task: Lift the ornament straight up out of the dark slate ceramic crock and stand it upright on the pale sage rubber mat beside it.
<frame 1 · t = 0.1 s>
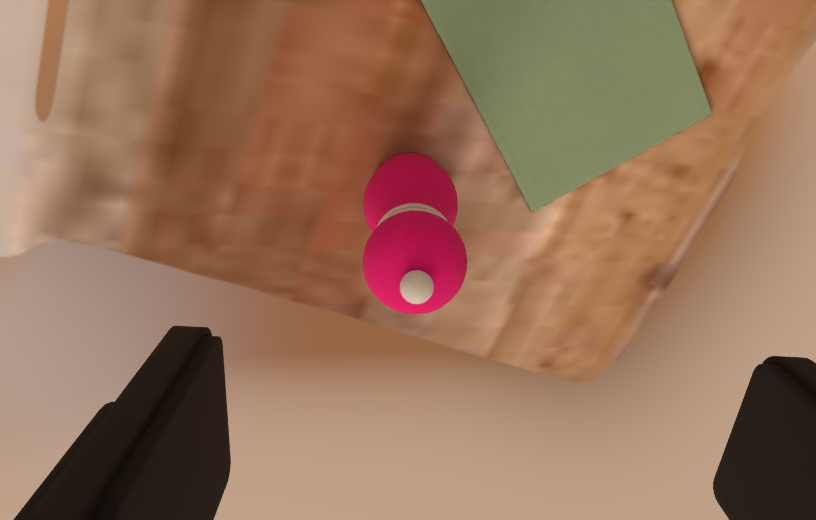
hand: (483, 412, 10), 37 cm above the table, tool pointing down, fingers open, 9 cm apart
mat: (568, 53, 43), on the table
pepper mill: (409, 188, 47), on the table
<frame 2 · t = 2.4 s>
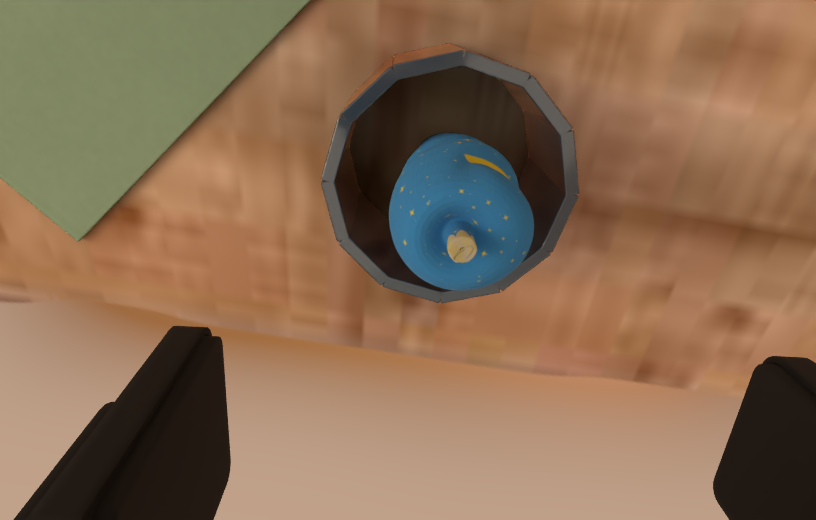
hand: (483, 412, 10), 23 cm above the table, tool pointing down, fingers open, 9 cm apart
mat: (66, 1, 27), on the table
crock: (439, 151, 31), on the table
ornament: (439, 150, 31), resting in crock
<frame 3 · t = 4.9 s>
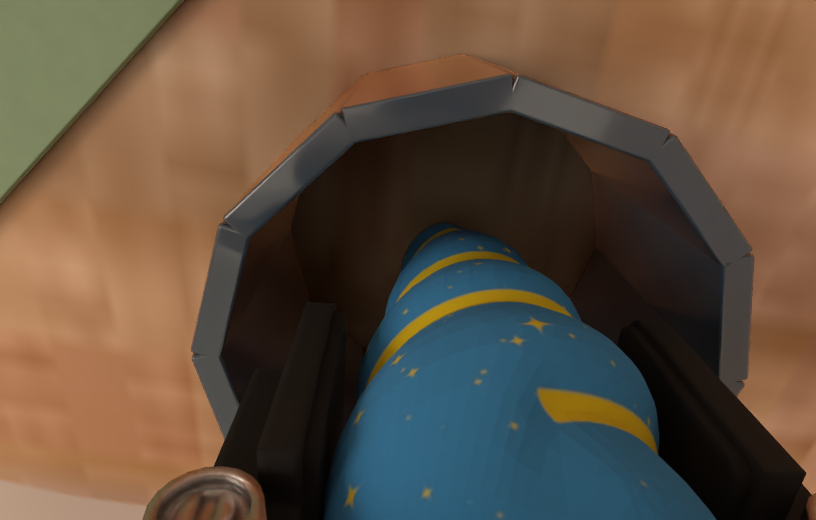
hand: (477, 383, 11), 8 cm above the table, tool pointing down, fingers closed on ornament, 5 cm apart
crock: (444, 237, 18), on the table
ornament: (443, 235, 18), resting in crock, touching gripper
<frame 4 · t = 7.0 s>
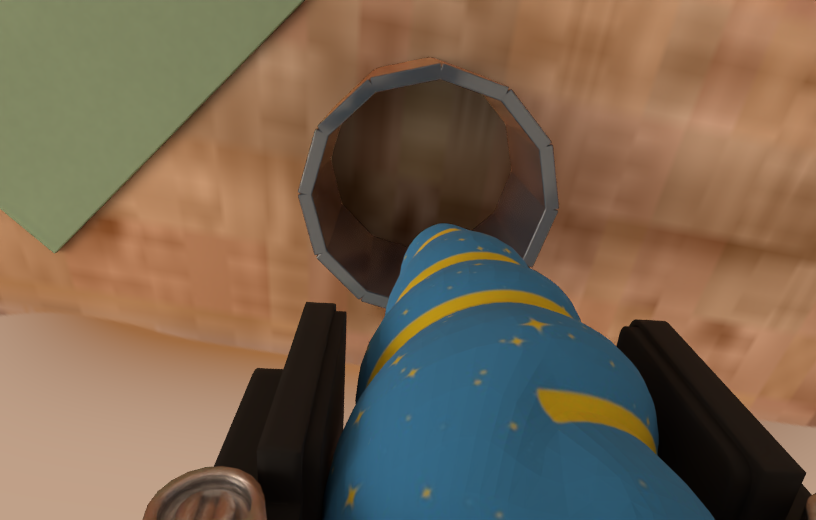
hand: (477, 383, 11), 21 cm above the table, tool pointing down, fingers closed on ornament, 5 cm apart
mat: (44, 11, 27), on the table
crock: (421, 164, 30), on the table
ornament: (443, 235, 18), point 13 cm above the table, touching gripper
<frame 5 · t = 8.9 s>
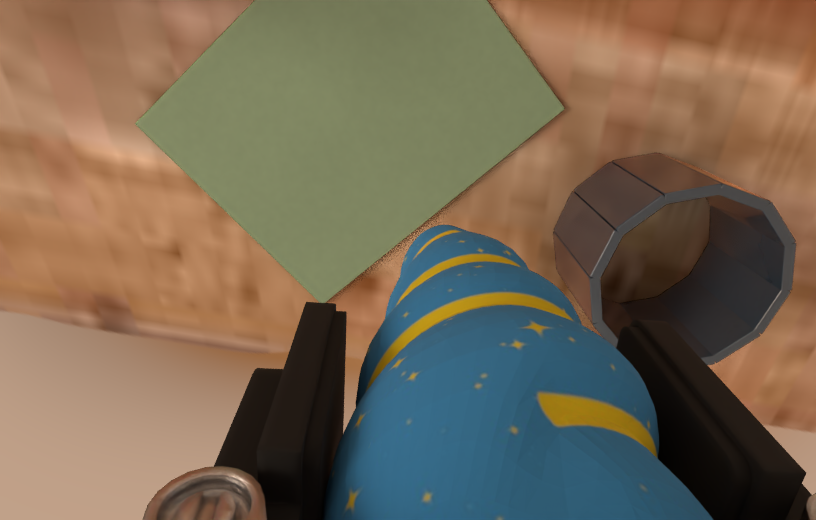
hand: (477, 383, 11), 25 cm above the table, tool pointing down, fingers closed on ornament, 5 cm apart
mat: (350, 115, 33), on the table
crock: (636, 236, 37), on the table
ornament: (444, 236, 18), point 17 cm above the table, touching gripper
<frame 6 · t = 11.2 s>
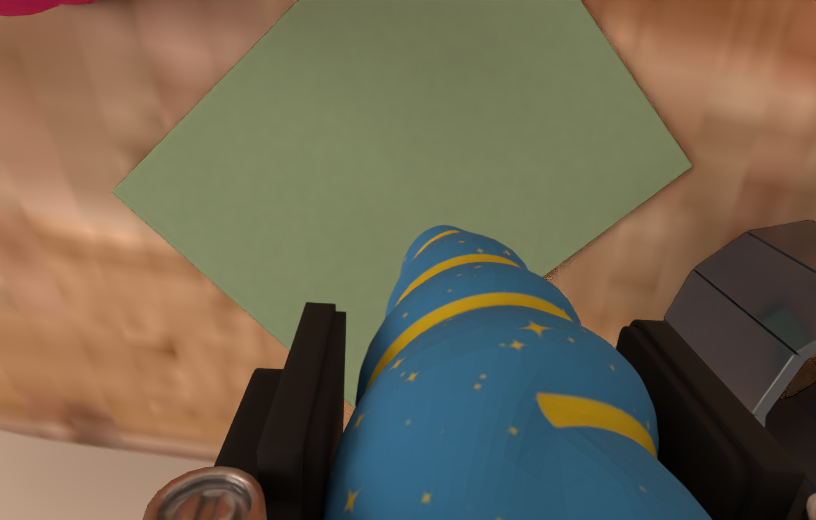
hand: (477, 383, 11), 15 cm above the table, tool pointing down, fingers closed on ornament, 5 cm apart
mat: (401, 177, 25), on the table
crock: (771, 324, 28), on the table
ornament: (443, 237, 18), point 7 cm above the table, touching gripper
when the fingers open (8 cm above the table, at t = 13.3 s): ornament stays where it is, resting on mat.
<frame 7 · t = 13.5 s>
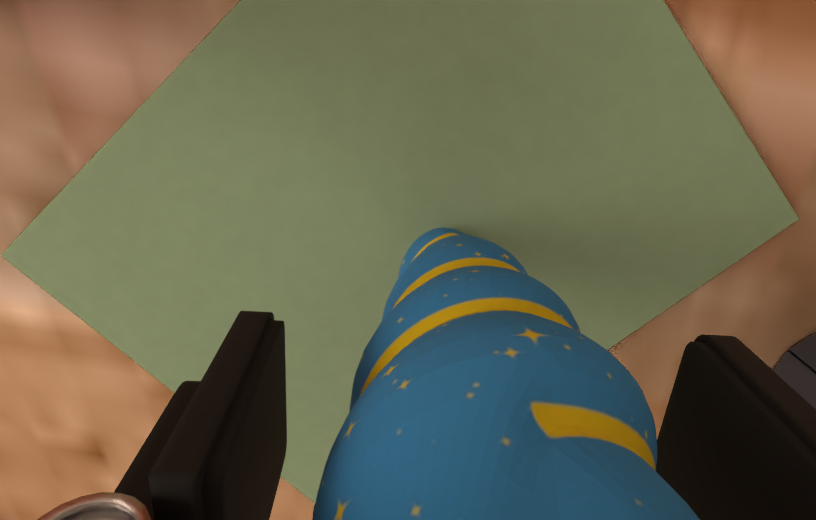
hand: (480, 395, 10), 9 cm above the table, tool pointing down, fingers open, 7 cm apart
mat: (400, 233, 18), on the table
ornament: (443, 239, 18), resting on mat
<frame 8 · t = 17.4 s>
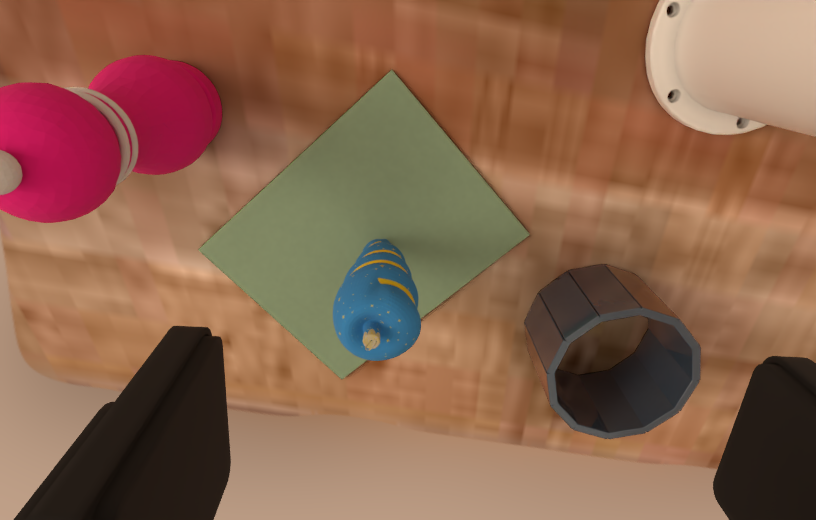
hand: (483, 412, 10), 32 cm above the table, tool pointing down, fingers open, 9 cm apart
mat: (364, 240, 43), on the table
crock: (590, 324, 46), on the table
pepper mill: (179, 106, 39), on the table
ornament: (382, 243, 43), resting on mat
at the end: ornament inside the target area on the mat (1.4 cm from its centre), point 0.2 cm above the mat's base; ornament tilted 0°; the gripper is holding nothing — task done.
